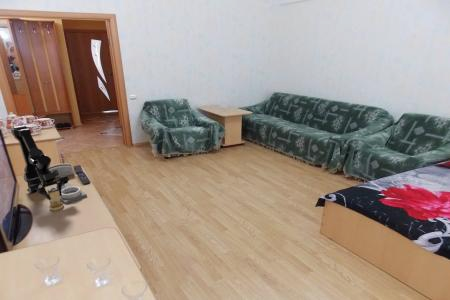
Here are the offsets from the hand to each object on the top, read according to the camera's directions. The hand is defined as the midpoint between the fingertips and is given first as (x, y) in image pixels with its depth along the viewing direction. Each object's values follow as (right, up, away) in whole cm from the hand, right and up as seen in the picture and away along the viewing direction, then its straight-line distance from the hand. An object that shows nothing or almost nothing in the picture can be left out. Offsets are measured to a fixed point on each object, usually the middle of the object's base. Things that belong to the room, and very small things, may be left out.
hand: (55, 197), depth 151 cm
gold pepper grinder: (-1, -6, +3) cm, 7 cm away
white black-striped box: (-22, +8, +41) cm, 48 cm away
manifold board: (-4, -1, +18) cm, 18 cm away
